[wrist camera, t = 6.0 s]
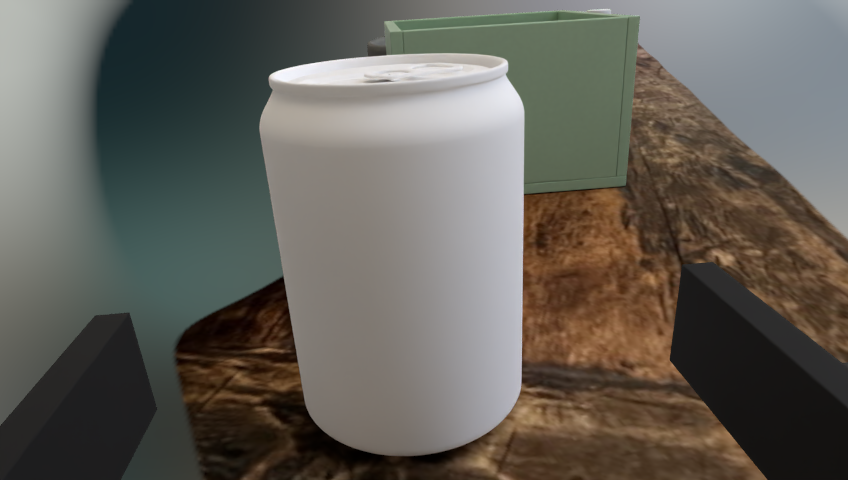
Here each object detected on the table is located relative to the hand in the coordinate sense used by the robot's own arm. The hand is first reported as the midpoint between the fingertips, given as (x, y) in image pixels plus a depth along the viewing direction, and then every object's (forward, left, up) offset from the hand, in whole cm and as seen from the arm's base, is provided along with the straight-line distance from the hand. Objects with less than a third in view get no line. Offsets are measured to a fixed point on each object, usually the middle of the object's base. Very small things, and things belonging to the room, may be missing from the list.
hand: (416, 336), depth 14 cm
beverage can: (0, +6, -7) cm, 9 cm away
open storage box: (+9, +36, -6) cm, 38 cm away
